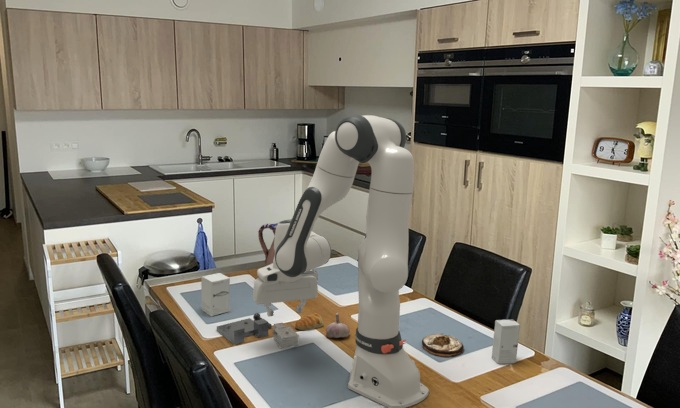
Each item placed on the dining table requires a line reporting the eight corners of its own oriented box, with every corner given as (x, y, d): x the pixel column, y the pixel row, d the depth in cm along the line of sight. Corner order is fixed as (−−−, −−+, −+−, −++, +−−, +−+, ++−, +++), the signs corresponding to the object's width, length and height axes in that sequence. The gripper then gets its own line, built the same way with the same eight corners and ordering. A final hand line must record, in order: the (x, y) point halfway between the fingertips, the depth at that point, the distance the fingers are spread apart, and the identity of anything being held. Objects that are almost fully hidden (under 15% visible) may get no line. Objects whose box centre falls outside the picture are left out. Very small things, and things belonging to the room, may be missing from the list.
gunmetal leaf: (268, 335, 174) (268, 321, 173) (234, 344, 167) (234, 331, 166) (249, 322, 184) (249, 309, 183) (216, 330, 176) (216, 317, 175)
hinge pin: (272, 327, 180) (272, 320, 179) (266, 329, 179) (266, 322, 178) (259, 318, 187) (259, 312, 186) (253, 320, 185) (253, 313, 185)
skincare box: (498, 364, 160) (502, 326, 158) (490, 357, 165) (494, 319, 162) (517, 363, 162) (521, 324, 159) (509, 356, 166) (513, 318, 164)
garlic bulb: (322, 338, 173) (323, 315, 172) (330, 329, 180) (331, 307, 179) (344, 343, 171) (345, 319, 169) (352, 334, 178) (353, 310, 176)
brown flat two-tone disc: (436, 364, 160) (437, 351, 160) (409, 343, 174) (410, 330, 173) (476, 355, 167) (478, 343, 166) (447, 335, 180) (448, 323, 179)
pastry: (302, 334, 177) (302, 322, 176) (290, 327, 182) (290, 316, 181) (325, 326, 183) (325, 316, 182) (312, 320, 188) (313, 309, 187)
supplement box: (211, 317, 187) (210, 281, 184) (201, 310, 192) (200, 275, 190) (230, 311, 192) (230, 277, 189) (219, 305, 197) (219, 272, 194)
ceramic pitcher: (308, 294, 211) (309, 231, 206) (253, 292, 211) (254, 229, 206) (311, 279, 228) (312, 220, 223) (260, 277, 228) (261, 218, 223)
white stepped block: (298, 345, 168) (298, 334, 167) (281, 348, 166) (281, 337, 165) (285, 331, 177) (286, 321, 176) (269, 334, 175) (269, 323, 174)
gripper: (314, 265, 173) (311, 306, 176) (252, 270, 164) (250, 313, 167) (322, 271, 168) (319, 314, 170) (258, 277, 159) (256, 321, 161)
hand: (284, 314), depth 169 cm, fingers open, 8 cm apart
